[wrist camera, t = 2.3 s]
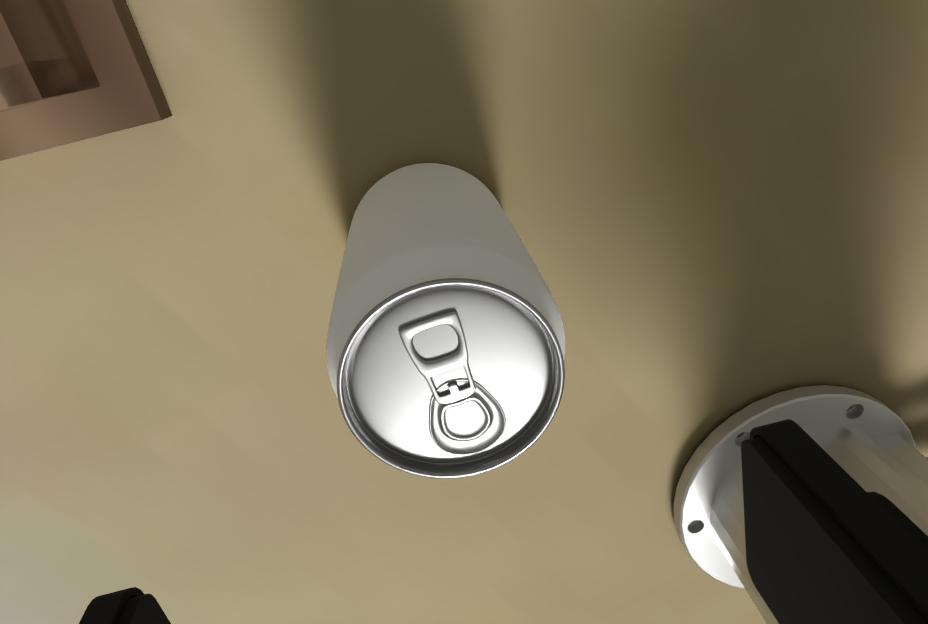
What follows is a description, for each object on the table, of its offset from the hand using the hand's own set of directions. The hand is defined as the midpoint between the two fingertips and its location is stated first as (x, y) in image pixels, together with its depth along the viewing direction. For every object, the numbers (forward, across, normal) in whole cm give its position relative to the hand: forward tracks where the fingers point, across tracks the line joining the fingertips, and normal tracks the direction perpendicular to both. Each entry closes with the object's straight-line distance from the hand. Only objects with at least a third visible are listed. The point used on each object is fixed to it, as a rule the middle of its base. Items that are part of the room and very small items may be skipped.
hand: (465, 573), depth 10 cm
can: (+18, 0, 0) cm, 18 cm away
